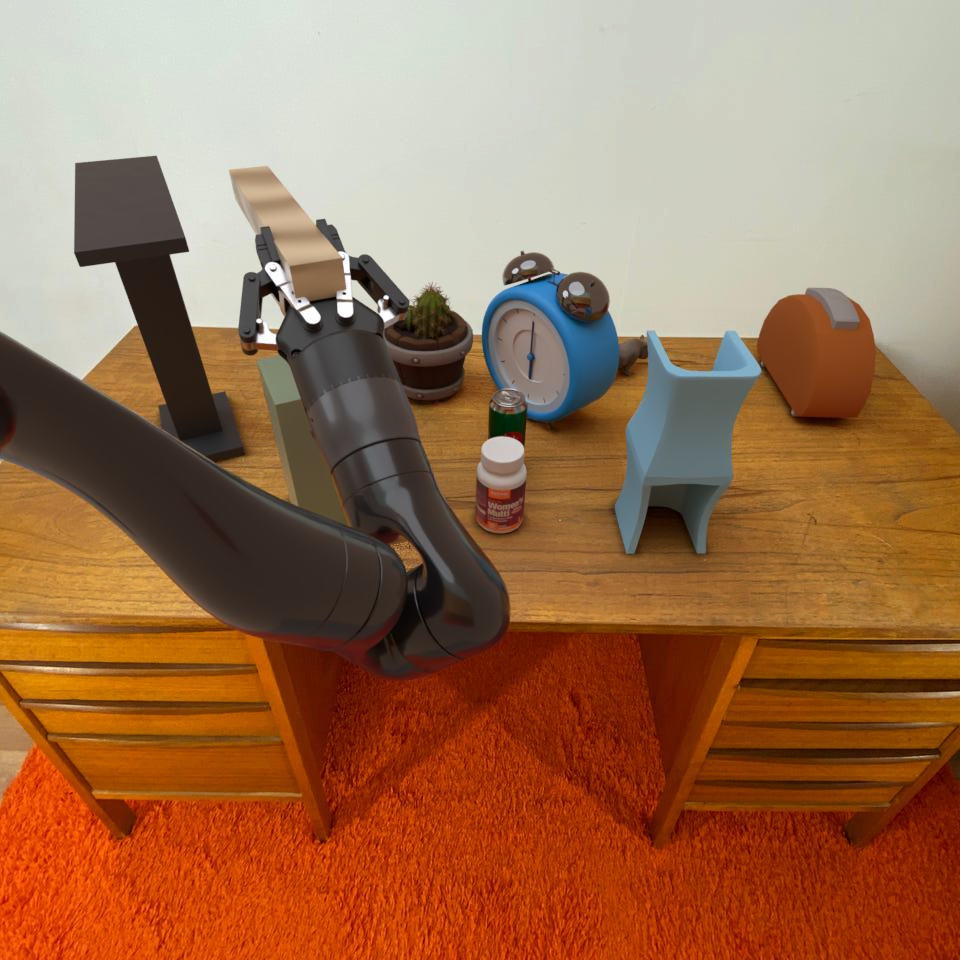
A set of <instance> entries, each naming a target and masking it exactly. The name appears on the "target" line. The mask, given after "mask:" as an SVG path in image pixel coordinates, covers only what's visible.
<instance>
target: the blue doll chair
mask: <svg viewBox="0 0 960 960" xmlns="http://www.w3.org/2000/svg"><path fill="white" fill-rule="evenodd" d="M646 342H647V345H648V358H647V379H646V387H645V390H644V392H643V396H642V398H641V401H640V403H639V405H638V407H637V409H636V411H635V412H634V414H633V415H632V417H631V418H630V420H629V421H628V422H627V424H626V427H625V445H626V469H625V472H626V473H625V477H624V482H623V485H622V487H621V491H620V493H619V496H618V497H617V500H616V502H615V504H614V513H615V517H616V520H617V523H618V527H619V528H618V529H619V531H620V535H621V539H622V543H623V546H624V547H623V548H624V550H625V554H626V555H635V553H636V550H637V548H638V543H639V542H640V538H641V534H642V531H643V528H644V524H645V520H646V517H647V512H648V508H649V507H665V508H669V509H671V510H673V511H676V512H678V513H679V514H681V516H682V518H683V521H684V524H685V526H686V528H687V532H688V534H689V537H690V539H691V541H692V545H693V547H694V549H695V552H696V554H697V555H699V554H707V535H708V534H707V533H708V526H709V522H710V518H711V515H712V513H713V511H714V509H715V508H716V505H717V504H718V502H719V501H720V499H721V498H722V496H723V495H724V493H725V492H726V491H727V490H728V489H729V487H730V486H731V485H732V481H733V479H734V467H733V454H732V453H733V452H732V451H733V450H732V448H733V447H732V443H733V434H734V428H735V423H736V422H737V418H738V416H739V413H740V411H741V408H742V406H743V404H744V402H745V401H746V399H747V397H748V395H749V393H750V392H751V390H752V389H753V387H754V386H755V384H756V383H757V381H758V379H759V378H760V377H761V374H762V368H761V366H760V364H759V363H758V361H757V360H756V358H755V357H754V356H753V353H752V352H751V351H750V350H749V348H748V347H747V345H746V343H744V341H743V339H742V338H741V337H740V335H739V334H738V333H737V331H736V330H726V331H725V333H724V334H723V337H722V340H721V342H720V344H719V345H720V346H719V348H718V351H717V354H716V357H715V360H714V363H713V366H712V368H711V370H709V371H708V370H689V369H684V368H682V367H679V366H677V365H674V364H673V363H672V362H671V360H670V358H669V357H668V354H667V353H666V350H665V348H664V346H663V345H662V342H661V340H660V338H659V336H658V334H657V332H656V330H655V329H654V330H653V329H652V330H646Z"/></svg>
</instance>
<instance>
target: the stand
mask: <svg viewBox="0 0 960 960" xmlns="http://www.w3.org/2000/svg"><path fill="white" fill-rule="evenodd" d="M73 229H74V230H73V254H74V256H75V259H76V261H77V264H78V266H79V267H80V268H85V267H91V266H92V267H93V266H98V265H104V264H106V265H107V264H112V263H115V266H116V269H117V271H118V274H119V278H120V280H121V283H122V286H123V289H124V291H125V294H126V296H127V300H128V302H129V305H130V308H131V310H132V314H133V316H134V319H135V322H136V324H137V327H138V330H139V332H140V336H141V338H142V341H143V344H144V346H145V350H146V352H147V355H148V357H149V360H150V363H151V365H152V368H153V372H154V374H155V377H156V379H157V382H158V385H159V388H160V391H161V394H162V396H163V399H164V401H165V403H164V404H159V405H157V407H158V412H159V418H160V424H161V429H163V430H164V431H166V432H168V433H169V434H171V435H172V436H174V437H176V438H177V439H179V440H180V441H182V442H183V443H185V444H187V445H188V446H190V447H191V448H193V449H194V450H196V451H198V452H199V453H201V454H202V455H204V456H205V457H207V458H209V459H210V460H212V461H213V462H215V463H217V462H220V461H225V460H228V459H233V458H237V457H240V456H245V455H246V452H245V448H244V445H243V441H242V438H241V435H240V432H239V430H238V426H237V423H236V420H235V417H234V414H233V411H232V408H231V407H232V406H231V405H230V402H229V398H228V395H227V392H226V390H223V391H219V392H212V389H211V386H210V382H209V379H208V376H207V373H206V369H205V366H204V363H203V359H202V357H201V353H200V349H199V346H198V343H197V339H196V337H195V334H194V329H193V327H192V323H191V320H190V317H189V314H188V309H187V306H186V302H185V300H184V297H183V293H182V290H181V286H180V283H179V281H178V277H177V274H176V270H175V267H174V264H173V261H172V260H173V259H172V257H171V255H178V254H184V253H189V252H190V248H189V245H188V242H187V237H186V235H185V232H184V230H183V227H182V223H181V221H180V218H179V215H178V212H177V210H176V207H175V204H174V201H173V197H172V194H171V193H170V189H169V187H168V183H167V181H166V178H165V175H164V172H163V170H162V167H161V164H160V161H159V158H158V155H148V156H146V155H145V156H137V157H135V156H134V157H126V158H114V159H105V160H104V159H103V160H102V159H101V160H93V161H83V162H82V161H81V162H75V163H74V226H73Z"/></svg>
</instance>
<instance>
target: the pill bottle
mask: <svg viewBox="0 0 960 960" xmlns="http://www.w3.org/2000/svg"><path fill="white" fill-rule="evenodd" d="M475 475H476V479H475V519H476V521H477V523H478V525H479V526H480V527H481V528H482V529H483V530H485V531H487V532H489V533H493V534H507V533H511V532H514V531H515V530H517V529H519V527H520V526H521V524H522V523H523V521H524V514H525V501H526V492H527V491H526V489H527V478H528V473H527V466H526V465H525V449H524V447H523V445H522V444H521V443H520V442H519V441H518V440H516V439H513V438H510V437H494V438H491V439H489V440H488V439H487V440H486V441H485V442H484V443H483V444H482V446H481V449H480V461H479V463H478V464H477V467H476V473H475Z"/></svg>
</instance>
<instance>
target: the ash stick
mask: <svg viewBox="0 0 960 960" xmlns="http://www.w3.org/2000/svg"><path fill="white" fill-rule="evenodd" d="M228 173H229V178H230V181H231V182H230V183H231V187H232V191H233V195H234V199H235V202H236V203H237V205H238V207H239V208H240V210H241V211H242V214H243V215H244V217H245V219H246V220H247V222H248V223H249V225H250V227H251V228H252V230H253V232H254V234H255V236H256V235H258V234H261V231H260V227H266V226H269V227H270V229H271V232H272V235H273V238H274V243H275V246H276V249H277V252H278V255H279V258H280V261H281V267H282V269H283V270H284V272H285V274H286V277H287V280H288V282H290V285H291V287H292V290H293V294H294V296H295V298H302V297H306V298H307V299H308V301H315V300H321V299H326V298H332V297H336V291H341V290H346V282H345V274H344V266H343V258H342V257H341V255H340V254H339V253H338V252H337V251H336V249H335V248H334V247H333V246H332V244H331V243H330V242H329V241H328V239H327V238H326V237H325V236H324V235H323V234H322V233H321V232H320V230H319V229H318V228H317V227H316V222H314V221H313V220H312V218H311V217H310V216H309V215H308V213H306V212H305V210H304V209H303V207H302V206H301V205H300V203H299V202H298V201H297V200H296V199H295V198H294V196H293V195H292V194H291V193H290V192H289V190H288V189H287V187H286V186H284V184H283V182H282V181H281V180H280V179H279V178H278V177H277V175H276V174H275V173H274V172H273V171H272V169H271V168H270V166H268V165H261V166H251V167H240V168H232V169H229V170H228Z"/></svg>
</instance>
